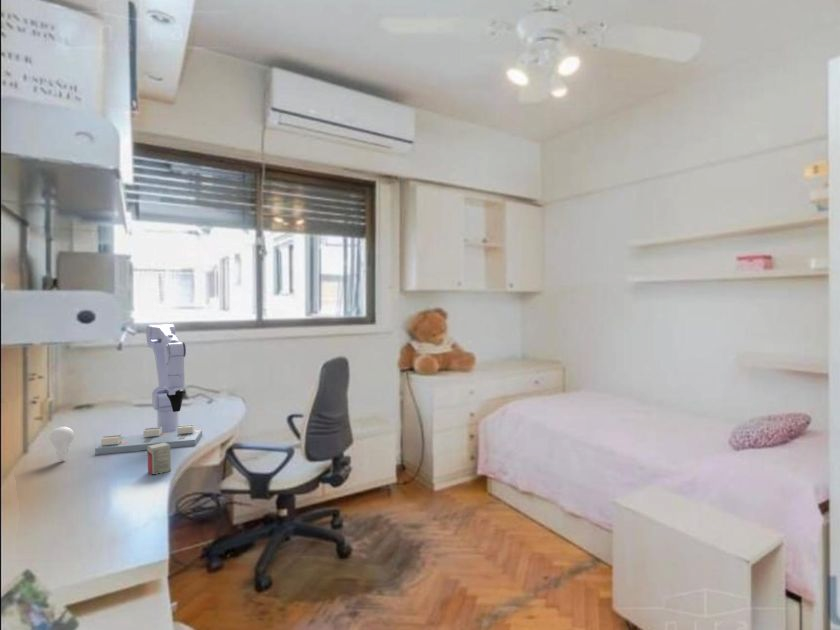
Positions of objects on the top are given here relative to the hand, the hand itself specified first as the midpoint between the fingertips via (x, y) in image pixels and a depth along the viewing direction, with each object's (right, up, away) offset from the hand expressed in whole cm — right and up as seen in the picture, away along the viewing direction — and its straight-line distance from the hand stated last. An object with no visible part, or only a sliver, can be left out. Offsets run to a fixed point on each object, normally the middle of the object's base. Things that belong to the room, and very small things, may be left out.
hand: (176, 411), depth 172 cm
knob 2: (-8, -8, -2) cm, 11 cm away
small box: (+14, -11, -36) cm, 40 cm away
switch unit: (-6, -11, -6) cm, 13 cm away
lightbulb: (-24, -11, -24) cm, 36 cm away
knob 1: (-16, -9, -12) cm, 22 cm away
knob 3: (+3, -8, +1) cm, 9 cm away
